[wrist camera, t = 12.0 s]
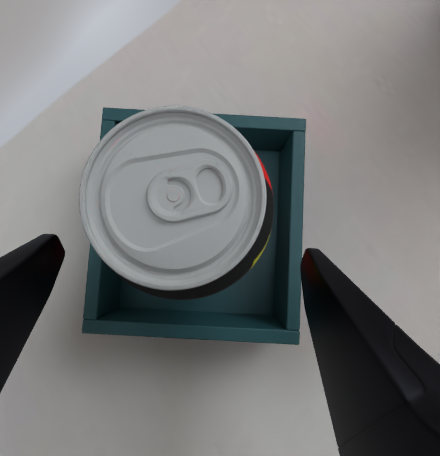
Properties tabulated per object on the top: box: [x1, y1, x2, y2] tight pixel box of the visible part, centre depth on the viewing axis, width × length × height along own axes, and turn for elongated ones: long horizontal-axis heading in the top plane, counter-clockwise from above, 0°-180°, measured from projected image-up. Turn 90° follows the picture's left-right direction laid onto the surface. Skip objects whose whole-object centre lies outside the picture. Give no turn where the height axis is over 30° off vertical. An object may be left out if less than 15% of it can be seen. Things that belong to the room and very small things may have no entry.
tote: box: [82, 108, 306, 345], centre depth 18 cm, size 14×13×4 cm
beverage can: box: [79, 106, 274, 300], centre depth 13 cm, size 6×6×12 cm
